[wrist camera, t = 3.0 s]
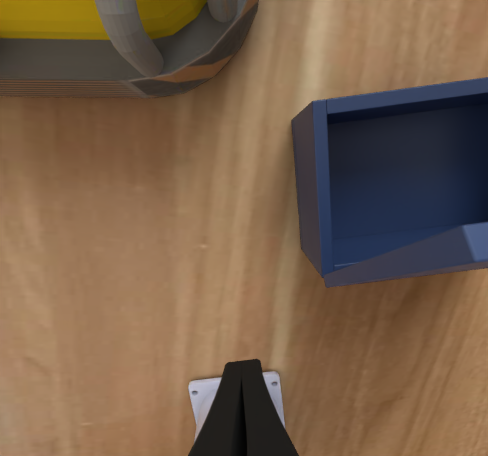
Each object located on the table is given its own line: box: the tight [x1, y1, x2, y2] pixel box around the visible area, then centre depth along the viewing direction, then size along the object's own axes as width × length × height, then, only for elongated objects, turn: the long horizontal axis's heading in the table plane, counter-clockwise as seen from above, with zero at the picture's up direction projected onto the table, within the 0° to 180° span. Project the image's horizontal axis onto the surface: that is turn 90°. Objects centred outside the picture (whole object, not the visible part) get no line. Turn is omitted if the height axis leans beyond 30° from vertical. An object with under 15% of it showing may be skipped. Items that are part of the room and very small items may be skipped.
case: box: [292, 77, 488, 278], centre depth 16 cm, size 9×14×5 cm, turn 97°
